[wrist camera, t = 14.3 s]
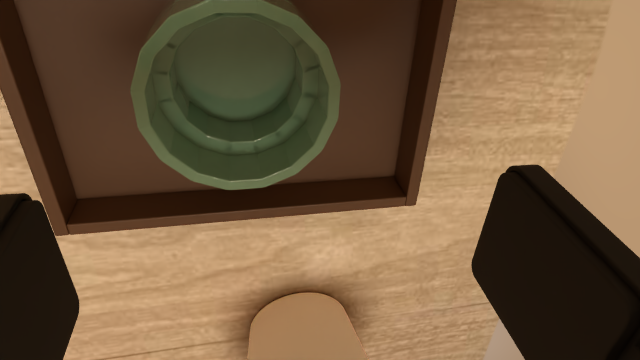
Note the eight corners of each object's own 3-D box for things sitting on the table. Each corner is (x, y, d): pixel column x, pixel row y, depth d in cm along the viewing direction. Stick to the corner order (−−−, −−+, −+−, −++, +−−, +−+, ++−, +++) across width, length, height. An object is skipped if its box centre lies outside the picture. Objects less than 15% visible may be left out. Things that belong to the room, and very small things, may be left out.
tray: (451, -126, 17) (483, -127, 15) (399, 179, 25) (416, 205, 23) (-51, -156, 14) (-96, -163, 12) (70, 203, 22) (54, 236, 20)
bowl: (320, -25, 18) (347, -2, 14) (314, 132, 22) (334, 182, 18) (133, -28, 16) (110, -3, 13) (163, 140, 20) (151, 196, 17)
